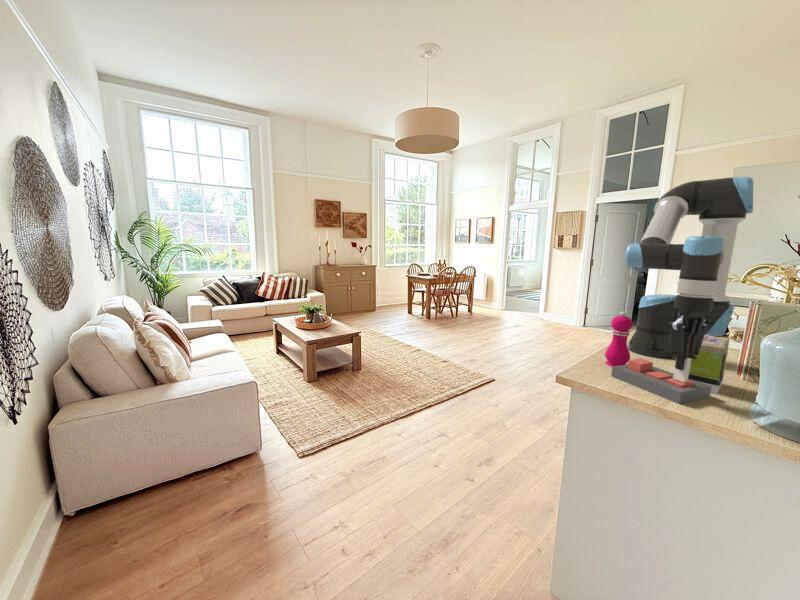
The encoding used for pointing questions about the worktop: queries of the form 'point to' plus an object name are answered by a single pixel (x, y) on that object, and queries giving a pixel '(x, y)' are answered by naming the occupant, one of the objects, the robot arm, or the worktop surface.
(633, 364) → the button
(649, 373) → the button
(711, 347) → the tea box
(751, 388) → the worktop surface
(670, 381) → the button
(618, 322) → the pepper mill
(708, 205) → the robot arm
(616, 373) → the power strip
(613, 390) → the worktop surface
